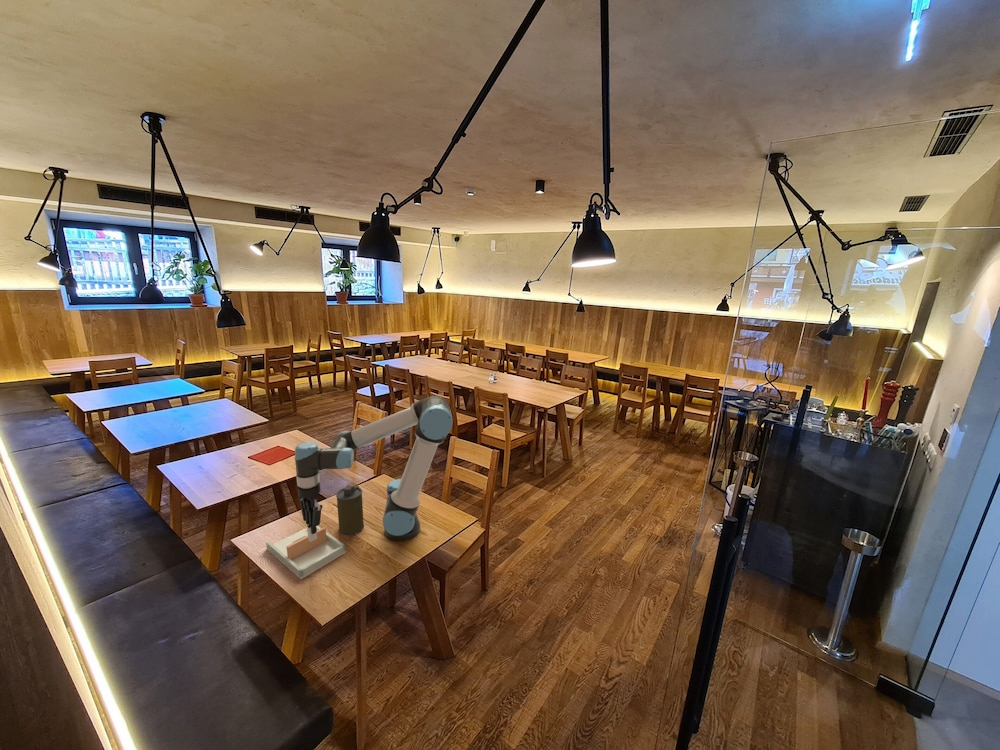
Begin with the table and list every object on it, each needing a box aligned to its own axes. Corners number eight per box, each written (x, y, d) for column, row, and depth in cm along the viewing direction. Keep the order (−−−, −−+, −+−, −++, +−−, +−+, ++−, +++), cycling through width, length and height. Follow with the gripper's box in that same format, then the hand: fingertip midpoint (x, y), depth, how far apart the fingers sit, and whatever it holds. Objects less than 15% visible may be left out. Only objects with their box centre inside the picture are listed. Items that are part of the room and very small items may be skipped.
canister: (355, 537, 162) (353, 495, 158) (333, 533, 164) (330, 491, 159) (369, 522, 173) (367, 482, 168) (348, 518, 175) (345, 478, 170)
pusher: (326, 540, 158) (325, 528, 157) (289, 561, 146) (287, 547, 145) (317, 533, 162) (315, 521, 161) (280, 553, 150) (278, 539, 149)
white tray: (345, 552, 153) (345, 545, 153) (300, 579, 139) (300, 571, 138) (310, 527, 168) (310, 520, 167) (266, 549, 154) (266, 542, 153)
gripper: (328, 485, 141) (331, 541, 147) (309, 474, 148) (313, 527, 154) (308, 494, 135) (312, 551, 141) (289, 481, 142) (294, 537, 148)
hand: (312, 539), depth 147 cm, fingers closed
